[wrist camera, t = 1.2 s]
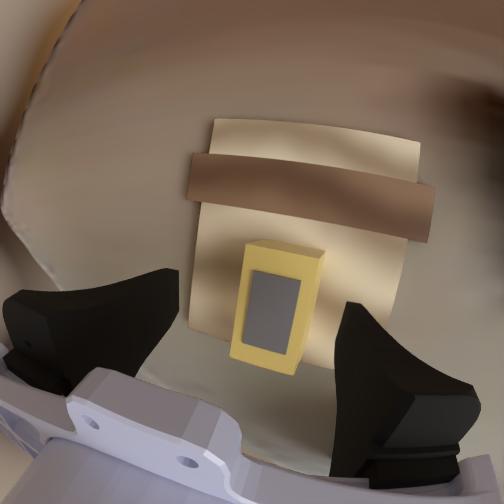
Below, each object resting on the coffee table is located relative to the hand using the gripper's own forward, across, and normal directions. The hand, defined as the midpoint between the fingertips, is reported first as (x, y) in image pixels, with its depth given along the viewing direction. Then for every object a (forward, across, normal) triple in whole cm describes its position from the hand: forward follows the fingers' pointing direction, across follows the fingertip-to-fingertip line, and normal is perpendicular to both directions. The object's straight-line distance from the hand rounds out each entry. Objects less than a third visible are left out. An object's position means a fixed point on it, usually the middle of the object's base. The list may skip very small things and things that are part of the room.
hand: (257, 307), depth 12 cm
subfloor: (+11, -1, +1) cm, 11 cm away
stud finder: (+9, -1, +4) cm, 10 cm away
